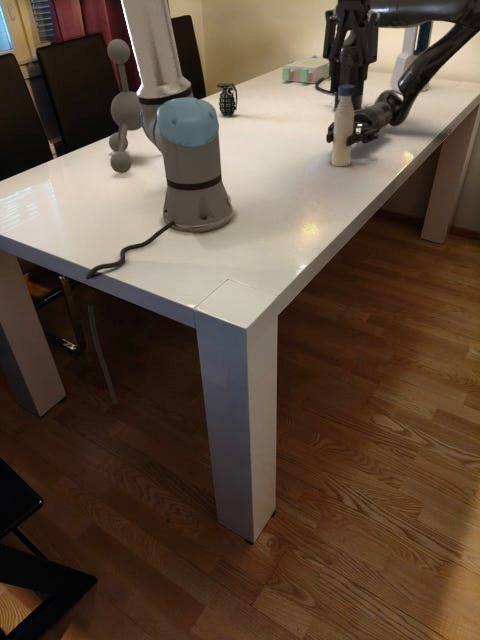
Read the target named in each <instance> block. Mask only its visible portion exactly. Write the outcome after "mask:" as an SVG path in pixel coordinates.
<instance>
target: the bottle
mask: <svg viewBox="0 0 480 640" xmlns="http://www.w3.org/2000/svg"><path fill="white" fill-rule="evenodd" d="M351 97H352V96H340V101H339V104H338V107H337V108H336V111H334V119H333V122H334V132H333V142H332V147H331V148H332V149H331V161H330V163H331V164H332V166H336V167H346V166H349V165H350V164H351V155H352V146H353V145H351V146H346V139H347V137H349V136H350V135H352V134H353V124H354V114H355V113H354V110H353V109H354V108H353V104H352V101H351Z"/></svg>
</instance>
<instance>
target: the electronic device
mask: <svg viewBox="0 0 480 640" xmlns="http://www.w3.org/2000/svg"><path fill="white" fill-rule="evenodd" d="M434 22H435V21H428V22H425V23H423V24H422V25H420V26H417V27H413V28H404V34H403V40H402V41H403V42H402V48H401V51H400V53H399V54H398V55H397V56H396V59H395V64H394V67H393V70H392V74H391V78H390V80H389V81H390V88H391V90H392V91H393V92H395V93H396V92H397V93H399V94H401V95H402V93H401V92H400V90H399V88H398V85H397V83H398V80H399V79H400V77H401V76H402V75H403V73H404V72H405V71H406V70H407V68H408V67H409V66H410V64H411V63H412V62H413V61H414V60H415V59H416V57H417V56H419V55H420V54H421V53H422V52H423V51H425V50H426V49H427V48H429V47H430V46H431V40H432V39H431V38H432V34H433V28H434ZM428 88H430V81H429V82H428V84H427V85H426V86H425V87H424V88H423V90H422V91H421V92H425V91H427V90H428Z"/></svg>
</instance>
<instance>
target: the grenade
mask: <svg viewBox="0 0 480 640" xmlns="http://www.w3.org/2000/svg"><path fill="white" fill-rule="evenodd" d="M215 87H217V88H219V89H221V93H219V97H218V101H219V102H218V106H219V108H218V109H219V112H220V114H221V115H222V116H224V117H231V116H233V115H234V113H235V112H236V111H237V108H238V89H237V87H236V85H235V84H234V83H233V82H218V83H217V84H216V86H215ZM232 91H233V92H232ZM234 94H235V96H234Z"/></svg>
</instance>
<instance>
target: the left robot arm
mask: <svg viewBox="0 0 480 640" xmlns="http://www.w3.org/2000/svg"><path fill="white" fill-rule="evenodd" d="M120 1H121V6H122V10H123V14H124V18H125V22H126V26H127V30H128V35H129V38H130V42H131V46H132V50H133V54H134V58H135V63H136V65H137V66H136V67H137V70H138V74H139V78H140V81H141V84H140V86H139V88H138V90H137V91H136V93H137V96H138V99H139V103H140V107H141V124H142V127H141V128H142V131H143V133H144V134H145V136H146V137H147V139H148V140H149V141H150V142H151V143H152V144H153V146H155V147H156V148H157V150H158V151H159V152H160V153H161V155H162V159H163V168H164V173H165V180H166V190H165V191H166V192H165V196H164V203H163V207H162V218H163V222H164V224H165V225H164V226H163V227H161V228H160V229H159V230H157V231H156V232H155V233H154V234H152V235H151V236H150V237H149V238H147V239H146V240H144V241H143V242H140V243H134V244H130V245H127V246H125V247H123V248H122V249H121V250H120V252H119V257H120V258H119V260H117V261H114V262H108V263H101V264H98V265H96V266H94V267H93V268H91V269H90V270H89V272H87V275H86V276H85V277H86V278H85V279H86V280H90V279H92V278H93V276H94V275H95V274H96V273H97V272H98V271H101V270H106V269H113V268H118V267H119V266H122V265H123V264H124V263H125V261H126V253H127V252H128V251H133V250H137V249H141V248H144V247H147V246H148V245H150V244H151V243H153V242H154V240H156V239H157V238H159V236H162V234H163V233H165V232H166V231H168V230H169V229H171V230H173V231H177V232H180V233H190V234H191V233H192V234H193V233H194V234H195V233H196V234H197V233H205V232H206V233H207V232H210V231H215V230H216V229H220V228H222V227H224V226H226V225H227V224H228V223H230V221H231V220H232V218H233V216H234V212H233V211H234V210H233V205H232V199H231V196H230V194H228V192H227V190H226V187H225V184H224V182H223V175H222V174H223V173H222V161H221V159H222V158H221V147H220V146H221V145H220V133H219V131H220V124H219V119H218V114H217V110H216V108H215V106H214V105H212V103H211V102H209V101H207V100H204V99H203V98H200V99H198V98H197V97H194V92H193V88H192V82H191V81H190V80H188V79H187V78H186V77H184V76H183V74H182V68H181V64H180V58H179V54H178V49H177V43H176V39H175V34H174V29H173V23H172V18H171V14H170V9H169V4H168V0H120ZM336 5H337V6H336ZM336 5H335V7H336V9H335V8H334V9H333V8H332V9H328V10H325V12H324V17H325V30H324V39H323V49H322V57H323V58H324V59H327V60H329V77H328V78H330V88H329V91H330V93H334V92H336V91H338V87H339V85H340V71H341V61H338V60H340V58H339V56H340V53H341V50H342V46H343V43H344V40H346V38H347V34H348V32H349V31H348V30H349V28H351V29H353V33H354V34H355V38H356V44H357V51H358V57H359V64H358V66H356V75H355V86H354V97H357V96H360V95H363V96H364V89H363V87H364V88H365V81H367V79H368V75H369V73H368V72H369V66H370V65H371V64H374V63H376V62H377V61H378V50H379V49H378V48H379V32H380V30H379V29H380V28H379V22H380V19H381V16H382V13H381V12H380V11H379V12H375V11H373V10H371V7H370V0H337V3H336ZM337 17H338V19H339V22H338V25H336V19H337ZM367 17H368V21H369V23H368V37H366V21H365V20H366V19H367ZM337 61H338V62H337ZM330 93H329V94H330ZM87 311H88V312H87V313H88V318H89V325H90V330H91V335H92V339H93V343H94V347H95V351H96V354H97V357H98V360H99V363H100V366H101V370H102V372H103V375H104V378H105V381H106V385H107V387H108V390H109V394H110V397H111V401H112V404H113V405H117V404H118V400H117V396H116V392H115V389H114V385H113V383H112V378H111V377H110V374H109V373H110V372H109V370H108V368H107V364H106V361H105V357H104V355H103V351H102V347H101V344H100V341H99V337H98V336H99V335H98V332H97V327H96V320H95V313H94V306H93V305H91V304H87Z"/></svg>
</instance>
